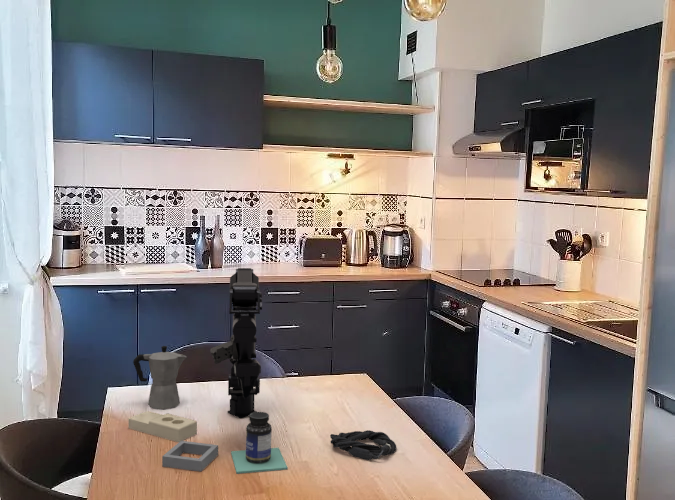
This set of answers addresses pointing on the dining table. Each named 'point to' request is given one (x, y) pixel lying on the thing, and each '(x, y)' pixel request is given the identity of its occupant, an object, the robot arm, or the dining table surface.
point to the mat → (249, 467)
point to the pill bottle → (258, 438)
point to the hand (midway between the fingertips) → (243, 391)
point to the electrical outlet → (164, 425)
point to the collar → (187, 463)
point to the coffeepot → (161, 377)
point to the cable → (361, 449)
